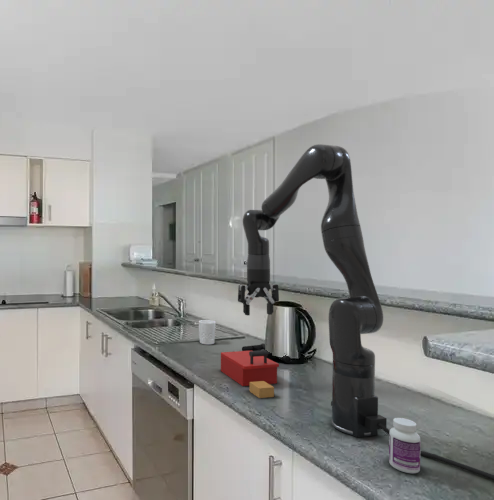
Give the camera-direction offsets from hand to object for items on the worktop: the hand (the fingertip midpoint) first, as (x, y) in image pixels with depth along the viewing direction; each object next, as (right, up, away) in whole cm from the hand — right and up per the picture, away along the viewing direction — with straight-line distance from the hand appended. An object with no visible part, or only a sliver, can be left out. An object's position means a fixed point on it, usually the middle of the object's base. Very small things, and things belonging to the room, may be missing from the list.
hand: (258, 314), depth 136 cm
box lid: (-3, -16, +1) cm, 17 cm away
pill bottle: (+12, -24, -53) cm, 59 cm away
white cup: (-7, -21, +48) cm, 53 cm away
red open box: (-3, -22, +2) cm, 23 cm away
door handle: (+10, -22, +25) cm, 35 cm away
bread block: (-4, -23, -13) cm, 26 cm away
